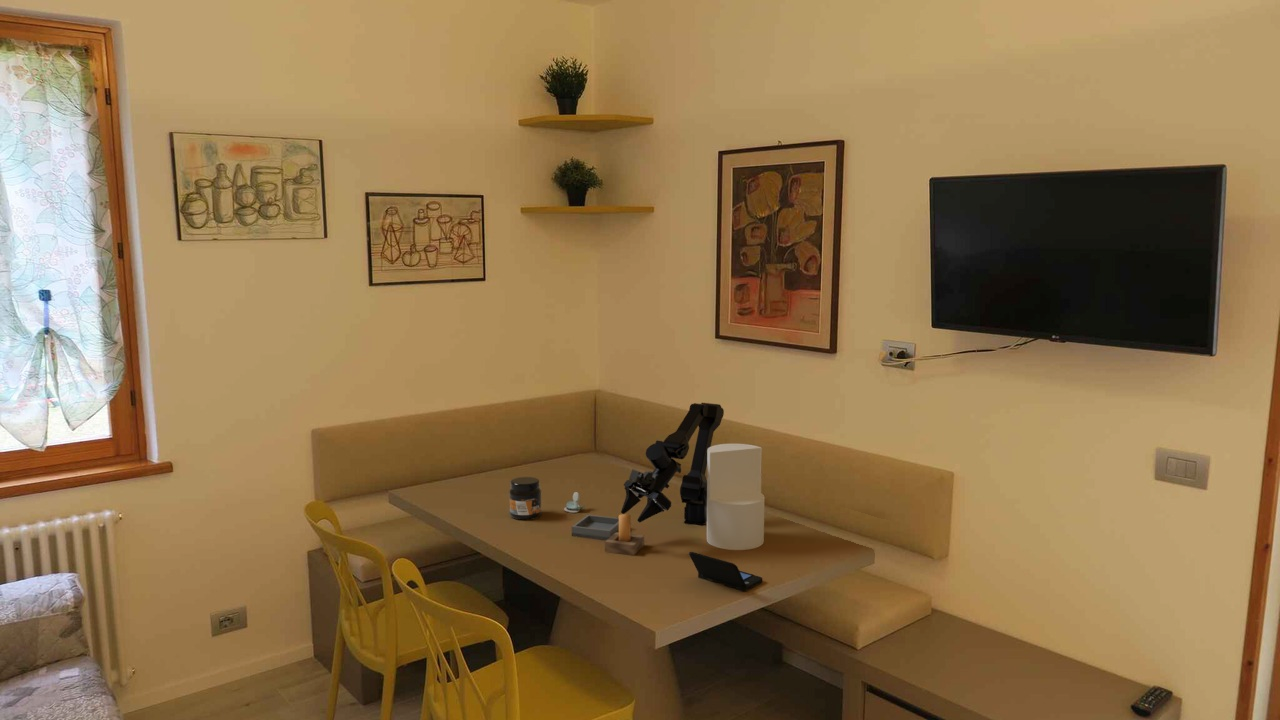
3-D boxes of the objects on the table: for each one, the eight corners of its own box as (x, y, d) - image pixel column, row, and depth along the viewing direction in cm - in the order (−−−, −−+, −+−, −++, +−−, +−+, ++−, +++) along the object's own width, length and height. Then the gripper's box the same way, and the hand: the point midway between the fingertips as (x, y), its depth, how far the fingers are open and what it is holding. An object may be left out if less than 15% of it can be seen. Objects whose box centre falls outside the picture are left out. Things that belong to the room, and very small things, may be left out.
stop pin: (632, 547, 263) (632, 514, 262) (628, 551, 260) (628, 518, 258) (621, 545, 264) (621, 513, 263) (617, 549, 261) (616, 516, 259)
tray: (624, 527, 280) (624, 518, 280) (609, 540, 269) (609, 531, 268) (587, 523, 285) (587, 514, 284) (571, 535, 273) (571, 526, 272)
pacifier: (572, 515, 294) (587, 511, 297) (572, 497, 293) (586, 493, 296) (560, 510, 299) (574, 506, 303) (559, 492, 298) (573, 488, 302)
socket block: (644, 545, 265) (644, 535, 264) (633, 555, 256) (633, 545, 256) (616, 541, 268) (616, 532, 267) (604, 551, 259) (604, 541, 259)
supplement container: (520, 522, 286) (519, 486, 284) (503, 515, 294) (502, 479, 292) (547, 516, 292) (547, 481, 290) (530, 508, 300) (529, 474, 299)
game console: (764, 583, 236) (765, 550, 235) (735, 598, 226) (735, 564, 225) (717, 568, 247) (718, 537, 245) (687, 583, 236) (687, 550, 235)
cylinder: (697, 534, 274) (697, 446, 270) (747, 528, 280) (748, 441, 276) (721, 553, 258) (722, 459, 254) (774, 545, 264) (775, 454, 260)
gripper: (629, 453, 270) (597, 493, 265) (663, 466, 254) (630, 509, 250) (650, 475, 275) (620, 515, 271) (685, 489, 259) (653, 531, 255)
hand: (630, 517), depth 261 cm, fingers open, 9 cm apart
